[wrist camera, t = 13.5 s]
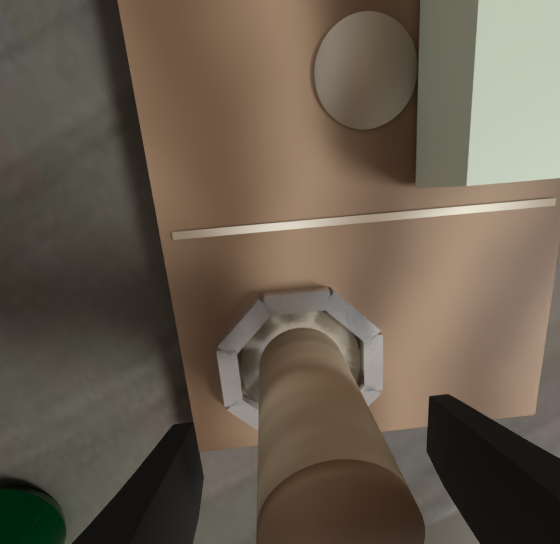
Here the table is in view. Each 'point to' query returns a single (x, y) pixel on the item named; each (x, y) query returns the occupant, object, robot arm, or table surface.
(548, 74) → the cover
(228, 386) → the socket ring
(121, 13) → the board
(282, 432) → the peg
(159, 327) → the table surface
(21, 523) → the soda can
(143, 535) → the robot arm
